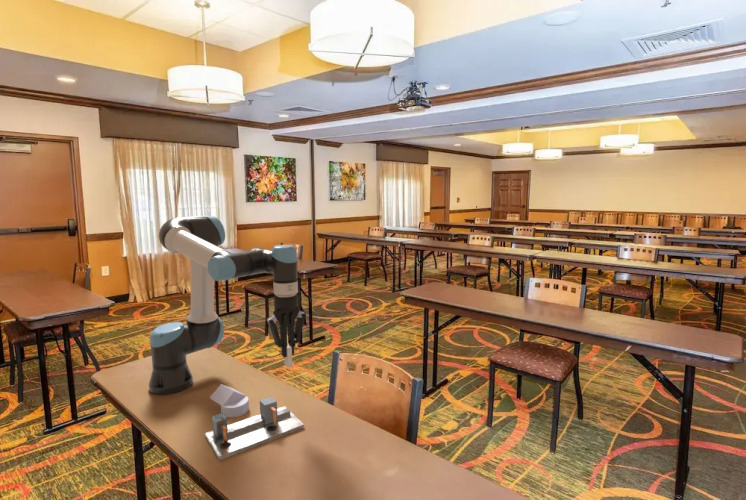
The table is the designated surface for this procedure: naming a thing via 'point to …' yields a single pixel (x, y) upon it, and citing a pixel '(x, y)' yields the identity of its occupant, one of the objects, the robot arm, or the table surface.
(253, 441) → the bolt plate
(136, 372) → the table surface
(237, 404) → the wedge on round base
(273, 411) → the slider
